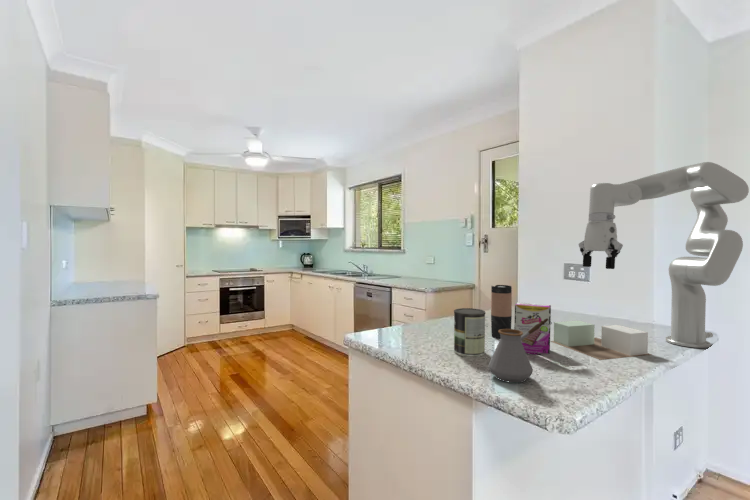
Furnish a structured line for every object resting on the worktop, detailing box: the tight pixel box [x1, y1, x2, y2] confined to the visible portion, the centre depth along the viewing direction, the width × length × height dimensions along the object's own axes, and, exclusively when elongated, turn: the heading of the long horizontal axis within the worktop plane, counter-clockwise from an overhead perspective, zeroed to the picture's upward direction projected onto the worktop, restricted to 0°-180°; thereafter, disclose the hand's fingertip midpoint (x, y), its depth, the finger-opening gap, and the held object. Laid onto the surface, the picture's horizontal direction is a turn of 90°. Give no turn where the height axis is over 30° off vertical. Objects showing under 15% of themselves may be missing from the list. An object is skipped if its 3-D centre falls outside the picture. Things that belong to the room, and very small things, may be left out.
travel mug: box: [490, 284, 513, 340], centre depth 146 cm, size 8×8×20 cm
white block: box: [600, 324, 649, 356], centre depth 125 cm, size 11×7×7 cm, turn 15°
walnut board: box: [550, 337, 653, 361], centre depth 128 cm, size 20×22×1 cm
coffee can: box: [453, 307, 486, 358], centre depth 126 cm, size 10×10×14 cm
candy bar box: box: [513, 301, 552, 357], centre depth 125 cm, size 11×5×16 cm, turn 65°
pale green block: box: [553, 320, 596, 347], centre depth 134 cm, size 11×7×7 cm, turn 105°
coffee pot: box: [488, 318, 553, 383], centre depth 105 cm, size 21×12×15 cm, turn 117°
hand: (598, 267), depth 132 cm, fingers open, 9 cm apart
